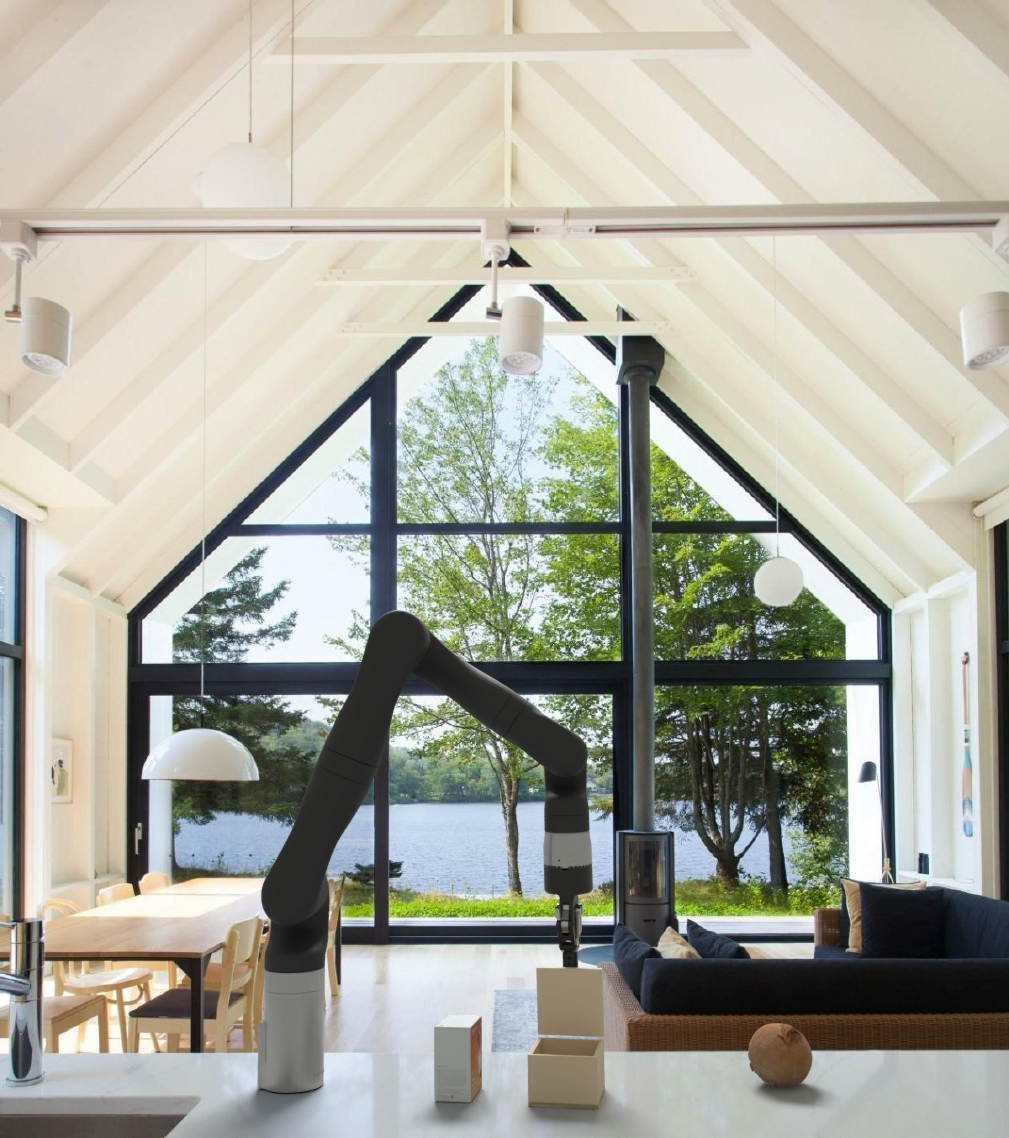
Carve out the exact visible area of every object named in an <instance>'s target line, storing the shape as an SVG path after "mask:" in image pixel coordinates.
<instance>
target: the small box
mask: <svg viewBox="0 0 1009 1138" xmlns="http://www.w3.org/2000/svg"><path fill="white" fill-rule="evenodd" d="M482 1019H483V1016H482V1015H471V1014H470V1015H468V1014H467V1015H465V1014H464V1015H463V1014H462V1015H461V1014H447V1015H446V1016H445V1017H444V1018H443V1019H442V1020H441V1021H440V1022H438V1023H437V1025H435V1026H433V1027H434V1028H433V1030H434V1031H433V1036H434V1037H433V1041H434V1042H433V1053H434V1055H433V1066H434V1067H433V1070H434V1071H433V1075H434V1076H433V1079H434V1080H433V1088H434V1094H433V1095H434V1096H433V1097H434V1101H435V1102H447V1103H449V1102H450V1103H472V1101H473V1100H474V1099H475V1097H476V1096H477V1095H478V1094H479V1092H480V1091H481V1090H482V1089H483V1075H482V1074H483V1052H482V1051H483V1046H482V1045H483V1044H482V1043H483V1032H482V1031H483V1028H482V1027H483V1024H482V1023H483V1020H482Z"/></svg>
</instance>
